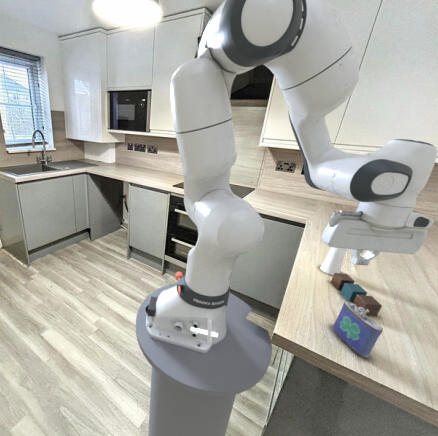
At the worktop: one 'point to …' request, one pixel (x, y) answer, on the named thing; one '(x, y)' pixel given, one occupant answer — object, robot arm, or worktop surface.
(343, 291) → the teal block
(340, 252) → the cosmetic bottle
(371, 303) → the walnut block near
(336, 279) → the walnut block far
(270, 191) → the worktop surface
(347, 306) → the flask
